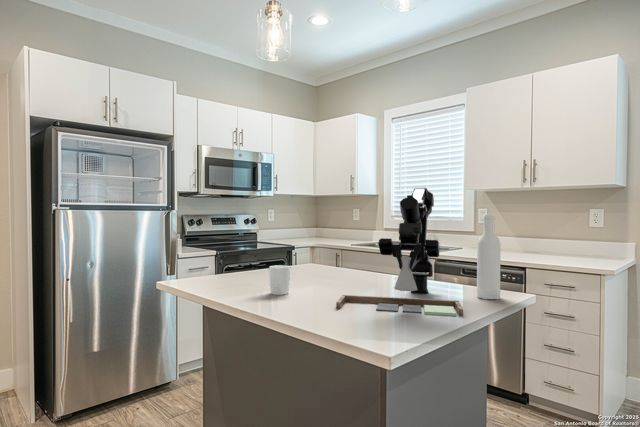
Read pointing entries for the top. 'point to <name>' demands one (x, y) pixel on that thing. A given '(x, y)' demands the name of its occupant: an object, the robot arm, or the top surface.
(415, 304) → the box
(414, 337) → the top surface
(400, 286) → the flask
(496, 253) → the bottle
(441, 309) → the pad
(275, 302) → the top surface
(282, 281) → the white cup
